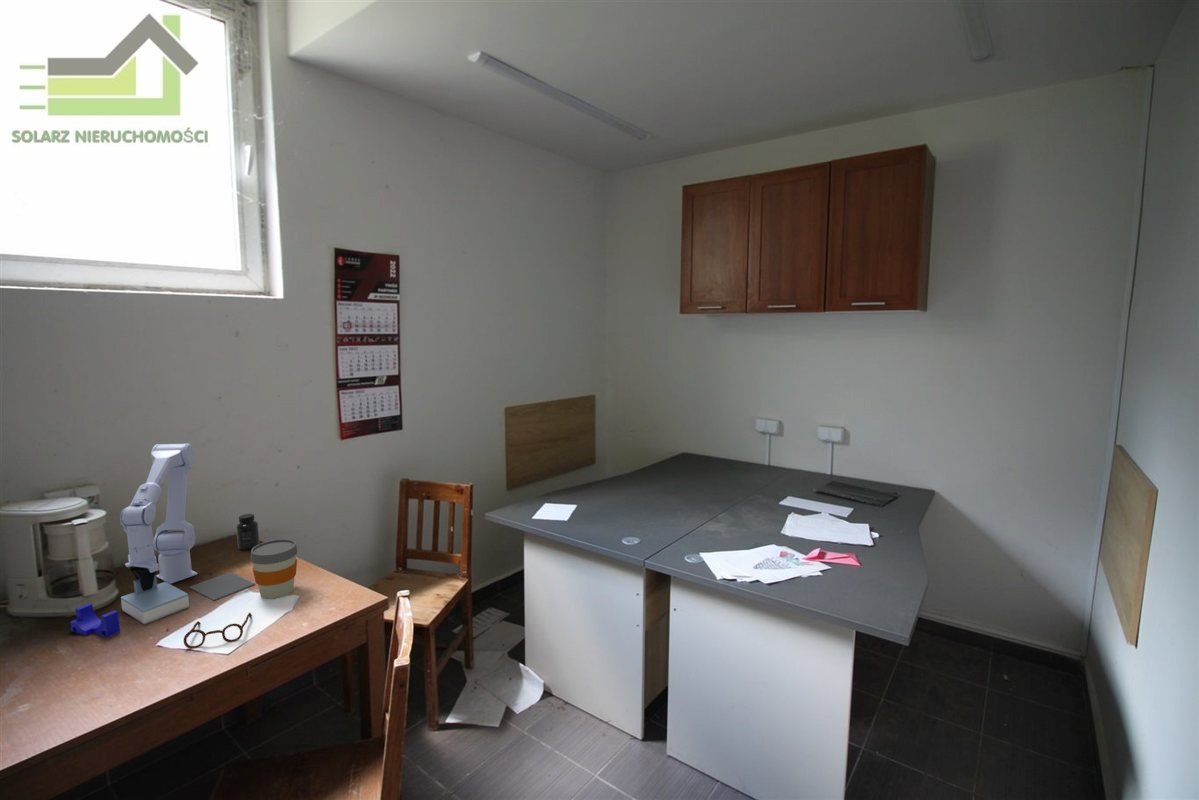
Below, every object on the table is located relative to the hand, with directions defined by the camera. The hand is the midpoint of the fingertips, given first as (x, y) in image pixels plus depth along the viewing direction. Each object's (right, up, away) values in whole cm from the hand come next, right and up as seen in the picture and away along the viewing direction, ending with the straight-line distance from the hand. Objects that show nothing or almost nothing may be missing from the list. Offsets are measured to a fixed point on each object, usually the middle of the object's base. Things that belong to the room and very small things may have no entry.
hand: (146, 588), depth 164 cm
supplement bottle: (+4, +1, +42) cm, 42 cm away
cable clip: (-2, -7, -14) cm, 16 cm away
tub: (+4, -5, -2) cm, 7 cm away
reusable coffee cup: (+34, -5, +9) cm, 35 cm away
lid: (+5, -2, -2) cm, 5 cm away
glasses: (+31, -8, -12) cm, 34 cm away
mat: (+15, -3, +12) cm, 19 cm away
